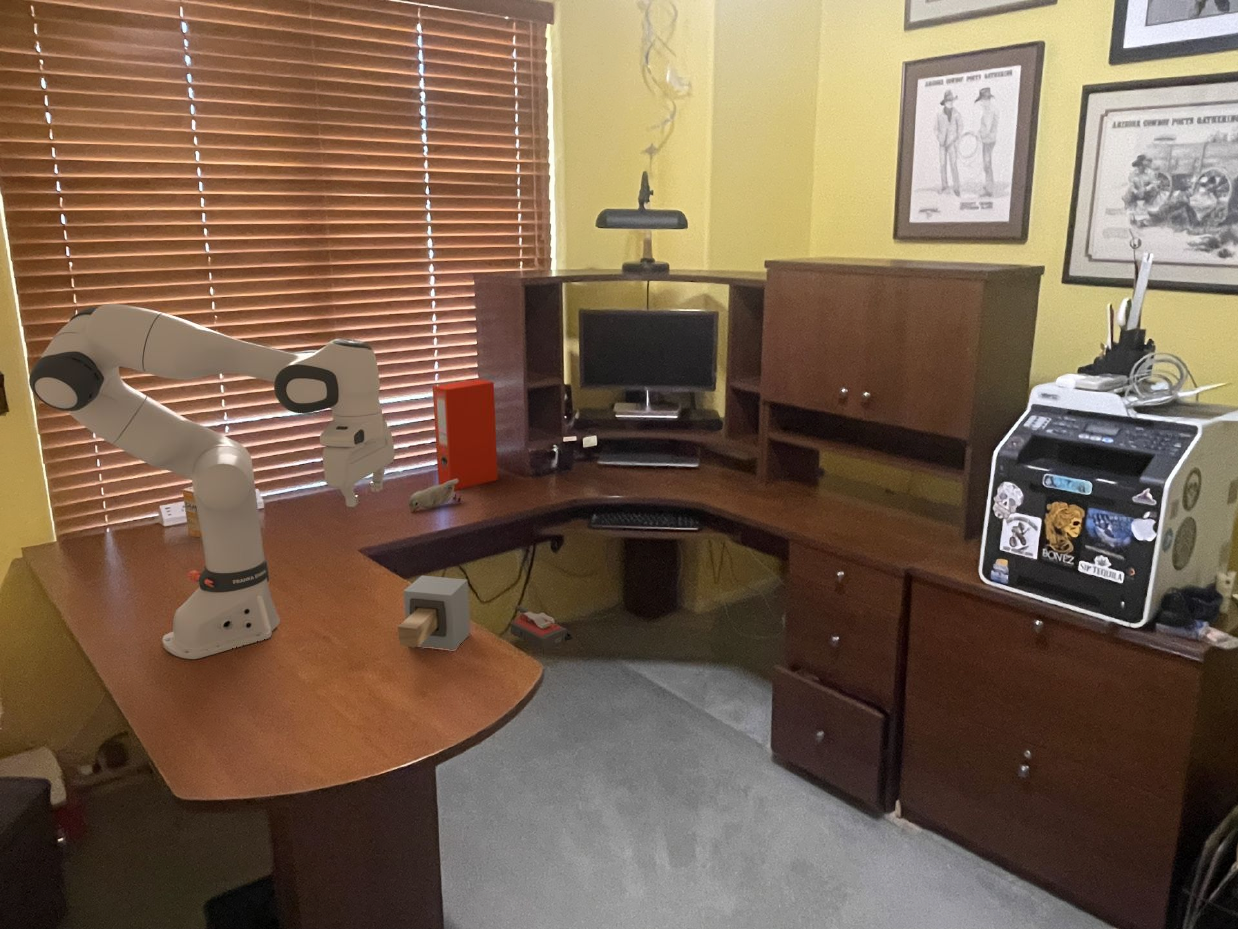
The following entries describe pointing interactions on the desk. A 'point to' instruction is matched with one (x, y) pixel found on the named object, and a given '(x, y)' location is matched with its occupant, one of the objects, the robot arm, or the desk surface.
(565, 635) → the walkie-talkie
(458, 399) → the file binder
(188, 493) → the supplement box
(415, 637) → the peg
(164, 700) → the desk surface
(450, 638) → the housing
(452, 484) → the decorative bird
